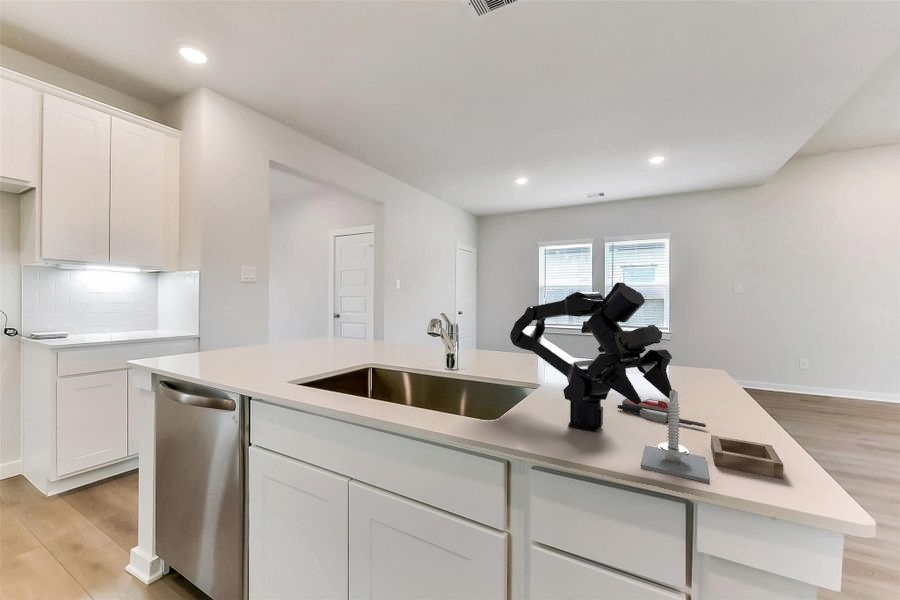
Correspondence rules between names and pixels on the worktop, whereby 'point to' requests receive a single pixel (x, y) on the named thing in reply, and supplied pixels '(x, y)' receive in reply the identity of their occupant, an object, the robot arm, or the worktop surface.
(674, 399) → the screw
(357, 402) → the worktop surface
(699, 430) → the worktop surface
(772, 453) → the square wooden frame
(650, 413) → the walkie-talkie
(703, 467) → the mat
